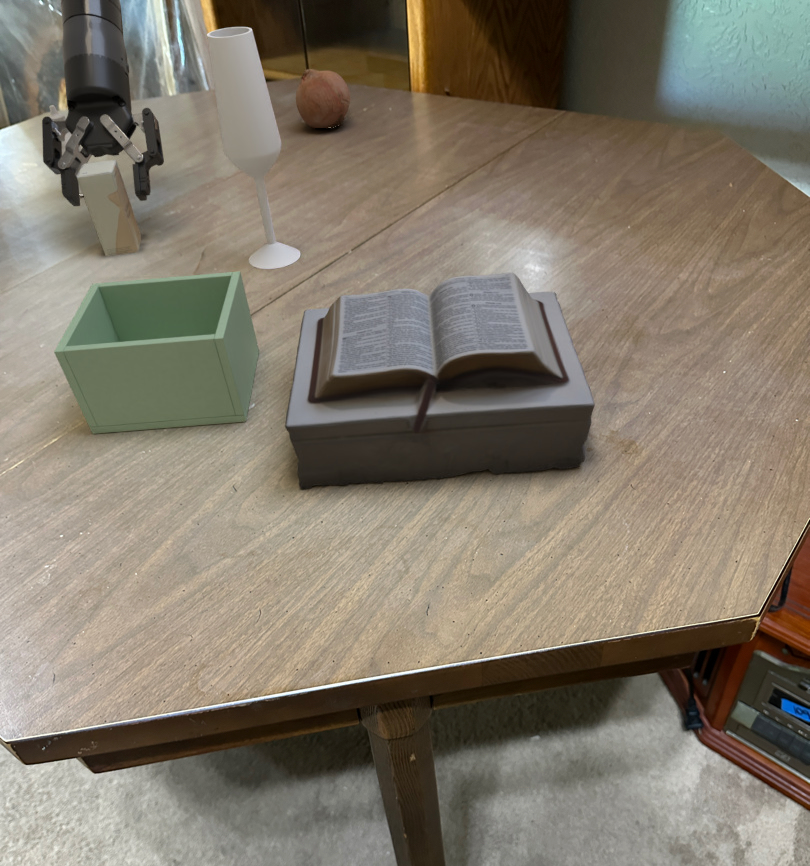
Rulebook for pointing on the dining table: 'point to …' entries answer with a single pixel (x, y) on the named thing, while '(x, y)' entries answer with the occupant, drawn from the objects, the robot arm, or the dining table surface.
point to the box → (109, 207)
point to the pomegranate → (322, 98)
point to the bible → (437, 385)
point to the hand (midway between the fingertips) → (107, 200)
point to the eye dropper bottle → (60, 117)
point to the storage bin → (161, 353)
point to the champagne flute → (248, 126)
